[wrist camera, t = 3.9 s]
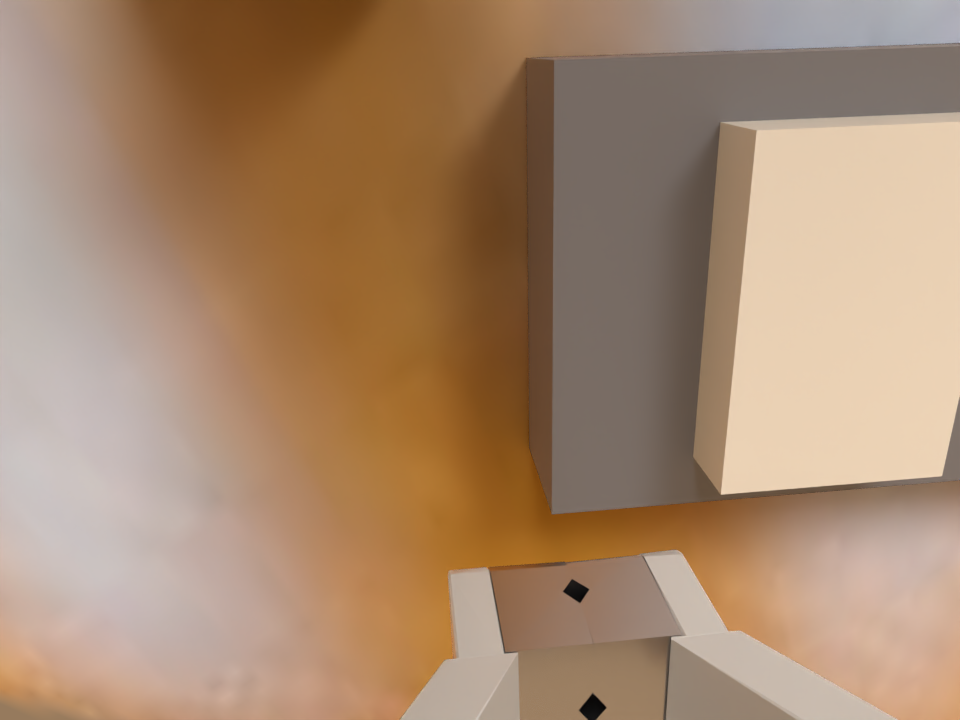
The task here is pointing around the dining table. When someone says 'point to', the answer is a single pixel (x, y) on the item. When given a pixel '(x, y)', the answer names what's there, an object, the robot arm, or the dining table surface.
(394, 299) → the dining table surface
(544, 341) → the block
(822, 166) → the card
